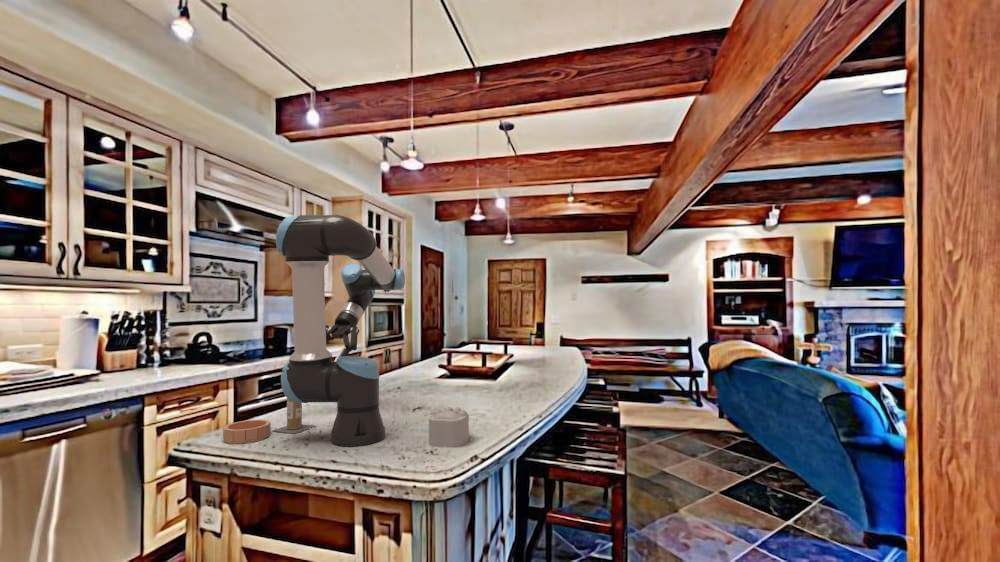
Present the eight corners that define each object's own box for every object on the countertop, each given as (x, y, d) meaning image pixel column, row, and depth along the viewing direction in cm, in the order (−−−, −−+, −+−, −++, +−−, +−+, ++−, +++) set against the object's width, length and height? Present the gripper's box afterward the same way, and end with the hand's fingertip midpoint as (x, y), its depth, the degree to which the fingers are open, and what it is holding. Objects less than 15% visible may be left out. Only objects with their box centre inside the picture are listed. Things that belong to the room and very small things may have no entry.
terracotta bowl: (278, 434, 142) (279, 421, 143) (244, 445, 131) (244, 432, 131) (249, 430, 147) (249, 418, 147) (213, 441, 136) (213, 428, 136)
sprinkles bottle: (303, 428, 147) (303, 385, 148) (287, 430, 145) (287, 386, 145) (300, 425, 151) (300, 383, 152) (285, 427, 149) (285, 384, 149)
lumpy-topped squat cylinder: (425, 446, 129) (424, 414, 129) (439, 433, 142) (439, 403, 142) (462, 448, 127) (461, 415, 127) (473, 434, 140) (473, 404, 140)
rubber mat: (316, 426, 151) (316, 425, 151) (294, 434, 142) (294, 433, 142) (294, 424, 154) (294, 423, 154) (271, 431, 145) (271, 430, 145)
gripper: (381, 324, 172) (355, 372, 157) (327, 324, 181) (297, 369, 166) (372, 310, 167) (344, 359, 152) (316, 310, 176) (285, 356, 161)
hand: (319, 364), depth 159 cm, fingers open, 13 cm apart
